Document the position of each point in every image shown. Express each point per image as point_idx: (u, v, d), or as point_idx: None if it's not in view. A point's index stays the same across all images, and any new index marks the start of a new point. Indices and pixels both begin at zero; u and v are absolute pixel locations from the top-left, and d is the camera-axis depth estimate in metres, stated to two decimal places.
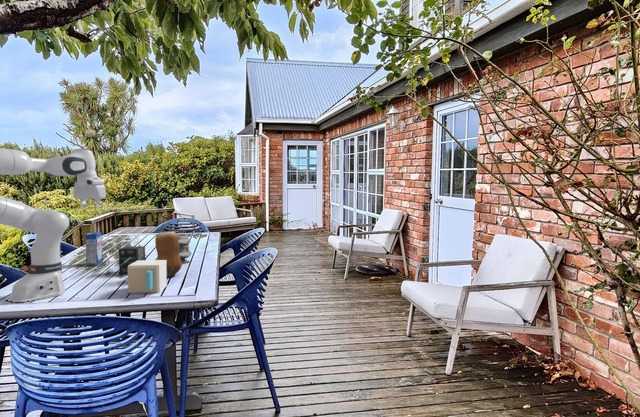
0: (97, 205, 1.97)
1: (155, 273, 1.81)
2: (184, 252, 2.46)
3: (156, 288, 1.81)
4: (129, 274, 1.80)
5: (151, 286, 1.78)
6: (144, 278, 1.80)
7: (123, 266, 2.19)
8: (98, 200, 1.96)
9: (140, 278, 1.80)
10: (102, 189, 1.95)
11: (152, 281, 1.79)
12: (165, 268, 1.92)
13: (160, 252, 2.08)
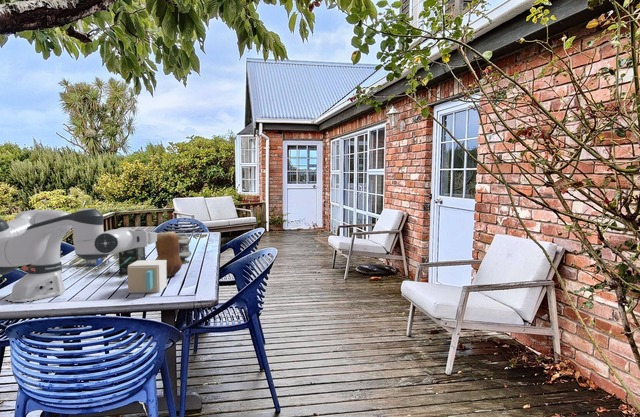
0: None
1: (155, 273, 1.81)
2: (184, 252, 2.46)
3: (156, 288, 1.81)
4: (129, 274, 1.80)
5: (151, 286, 1.78)
6: (144, 278, 1.80)
7: (123, 266, 2.19)
8: None
9: (140, 278, 1.80)
10: (152, 236, 1.56)
11: (152, 281, 1.79)
12: (165, 268, 1.92)
13: (160, 252, 2.08)
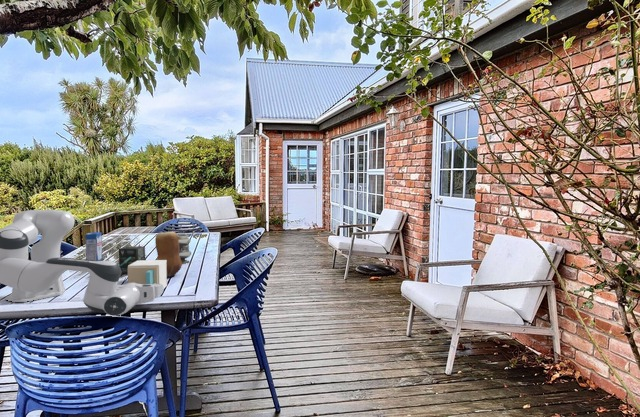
0: None
1: (155, 273, 1.81)
2: (184, 252, 2.46)
3: None
4: (129, 274, 1.80)
5: None
6: (144, 278, 1.80)
7: (123, 266, 2.19)
8: None
9: (140, 278, 1.80)
10: (159, 289, 1.61)
11: (152, 281, 1.79)
12: (165, 268, 1.92)
13: (160, 252, 2.08)
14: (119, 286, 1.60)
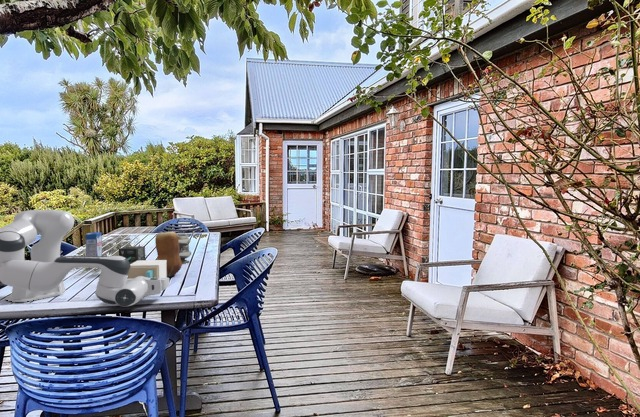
0: None
1: (155, 273, 1.81)
2: (184, 252, 2.46)
3: None
4: (129, 274, 1.80)
5: None
6: None
7: None
8: None
9: None
10: (166, 282, 1.71)
11: None
12: (165, 268, 1.92)
13: (160, 252, 2.08)
14: (128, 279, 1.71)
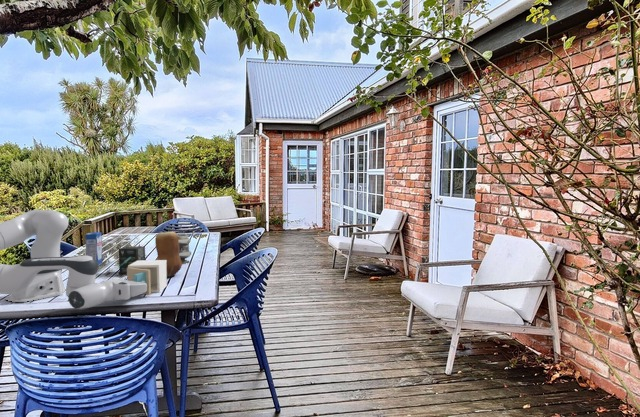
0: None
1: (147, 276, 1.75)
2: (184, 252, 2.46)
3: (148, 292, 1.75)
4: (128, 274, 1.79)
5: None
6: None
7: (123, 266, 2.19)
8: None
9: None
10: (137, 288, 1.61)
11: None
12: (165, 268, 1.92)
13: (160, 252, 2.08)
14: None
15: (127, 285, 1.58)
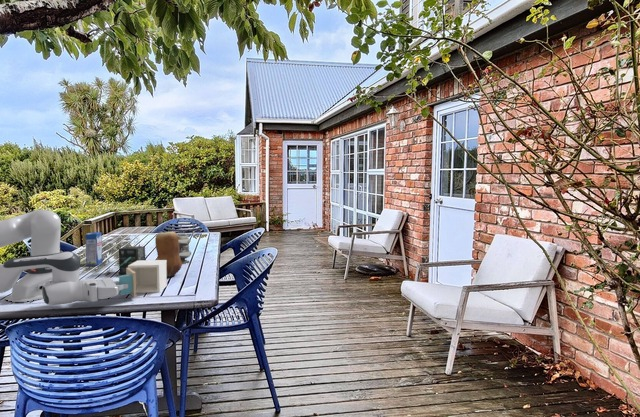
0: (124, 287, 1.66)
1: (133, 279, 1.70)
2: (184, 252, 2.46)
3: (133, 295, 1.70)
4: (126, 274, 1.79)
5: (124, 291, 1.69)
6: None
7: (123, 266, 2.19)
8: (118, 288, 1.64)
9: None
10: (105, 291, 1.57)
11: (128, 287, 1.70)
12: (165, 268, 1.92)
13: (160, 252, 2.08)
14: (104, 279, 1.71)
15: (93, 287, 1.55)
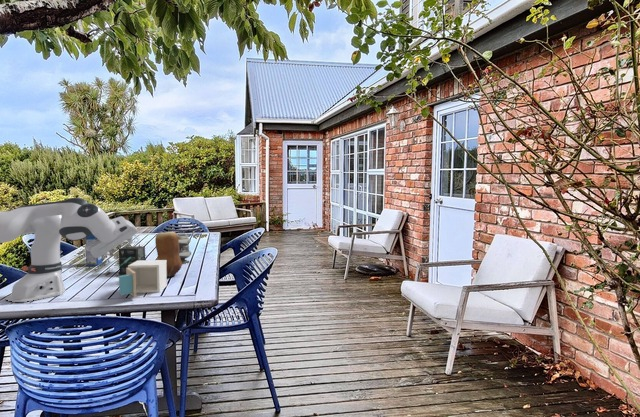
0: (131, 240, 1.75)
1: (133, 279, 1.70)
2: (184, 252, 2.46)
3: (133, 295, 1.70)
4: (126, 274, 1.79)
5: (124, 291, 1.69)
6: None
7: (123, 266, 2.19)
8: None
9: None
10: (131, 223, 1.70)
11: (128, 287, 1.70)
12: (165, 268, 1.92)
13: (160, 252, 2.08)
14: None
15: (122, 217, 1.68)
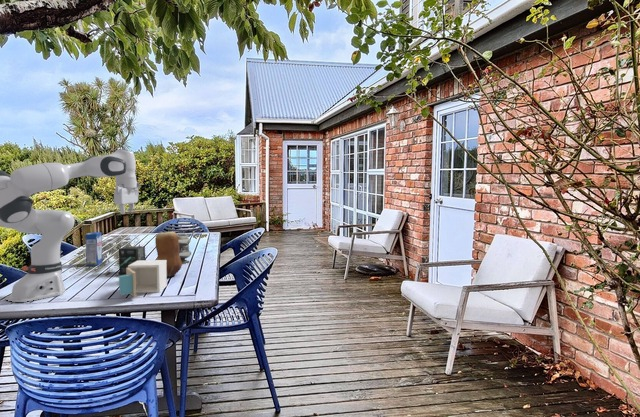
0: None
1: (133, 279, 1.70)
2: (184, 252, 2.46)
3: (133, 295, 1.70)
4: (126, 274, 1.79)
5: (124, 291, 1.69)
6: None
7: (123, 266, 2.19)
8: None
9: None
10: None
11: (128, 287, 1.70)
12: (165, 268, 1.92)
13: (160, 252, 2.08)
14: None
15: None
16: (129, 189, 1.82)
